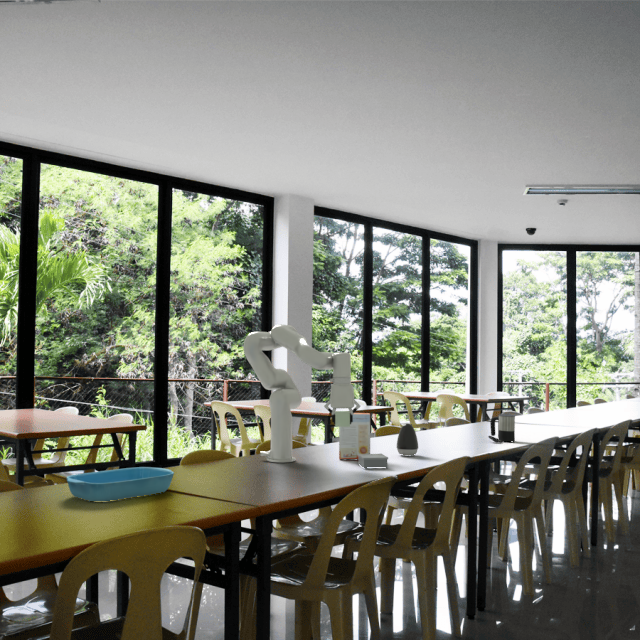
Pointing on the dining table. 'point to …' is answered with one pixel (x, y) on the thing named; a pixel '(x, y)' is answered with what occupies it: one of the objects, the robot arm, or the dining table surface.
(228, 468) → the dining table surface
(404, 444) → the dark grey rounded piece
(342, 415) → the green cube
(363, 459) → the grey storage box
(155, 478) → the casserole dish
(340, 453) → the cracker box
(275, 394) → the robot arm
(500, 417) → the milk frother
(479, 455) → the dining table surface
